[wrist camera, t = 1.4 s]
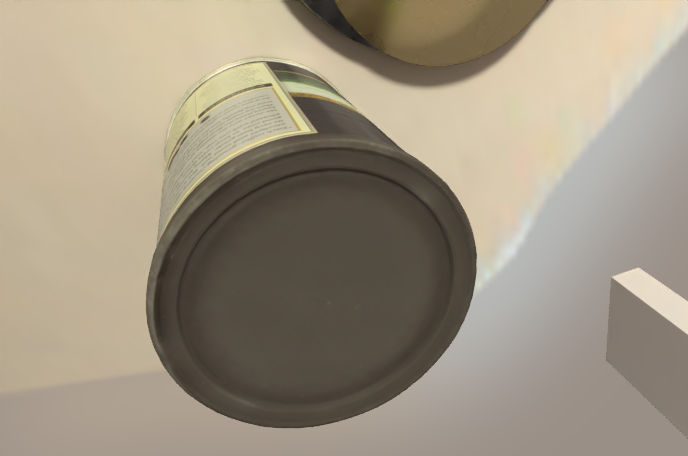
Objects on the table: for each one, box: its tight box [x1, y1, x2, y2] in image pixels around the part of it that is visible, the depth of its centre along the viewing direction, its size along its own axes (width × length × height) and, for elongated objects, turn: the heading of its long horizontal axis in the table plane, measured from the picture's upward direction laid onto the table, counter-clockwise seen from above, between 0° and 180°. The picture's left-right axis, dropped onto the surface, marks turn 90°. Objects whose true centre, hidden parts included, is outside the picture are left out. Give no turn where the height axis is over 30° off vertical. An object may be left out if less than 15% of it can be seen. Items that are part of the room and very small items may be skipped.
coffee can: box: [146, 57, 477, 428], centre depth 23 cm, size 10×10×14 cm
